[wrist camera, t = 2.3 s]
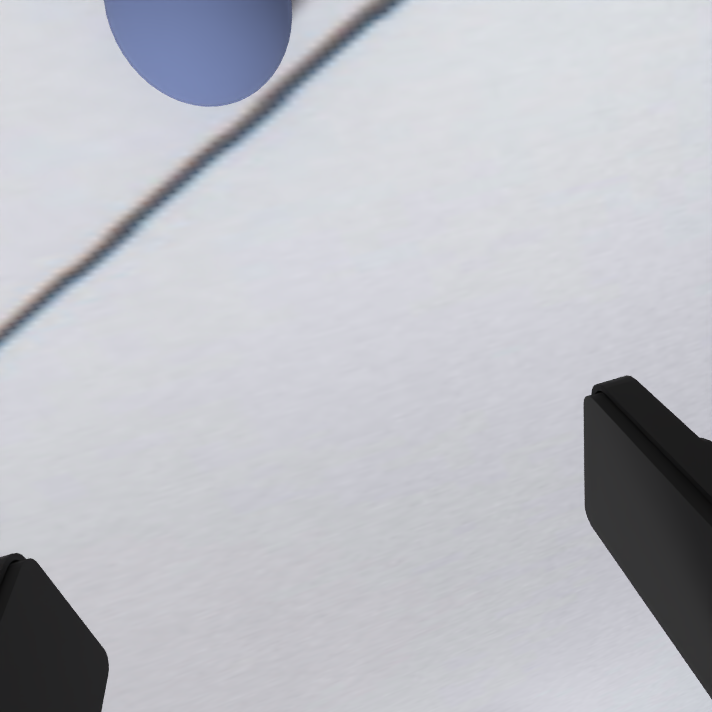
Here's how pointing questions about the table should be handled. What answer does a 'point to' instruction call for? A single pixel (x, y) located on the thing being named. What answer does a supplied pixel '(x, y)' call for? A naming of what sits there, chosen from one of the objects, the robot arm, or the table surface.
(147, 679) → the table surface
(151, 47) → the slate blue ball
